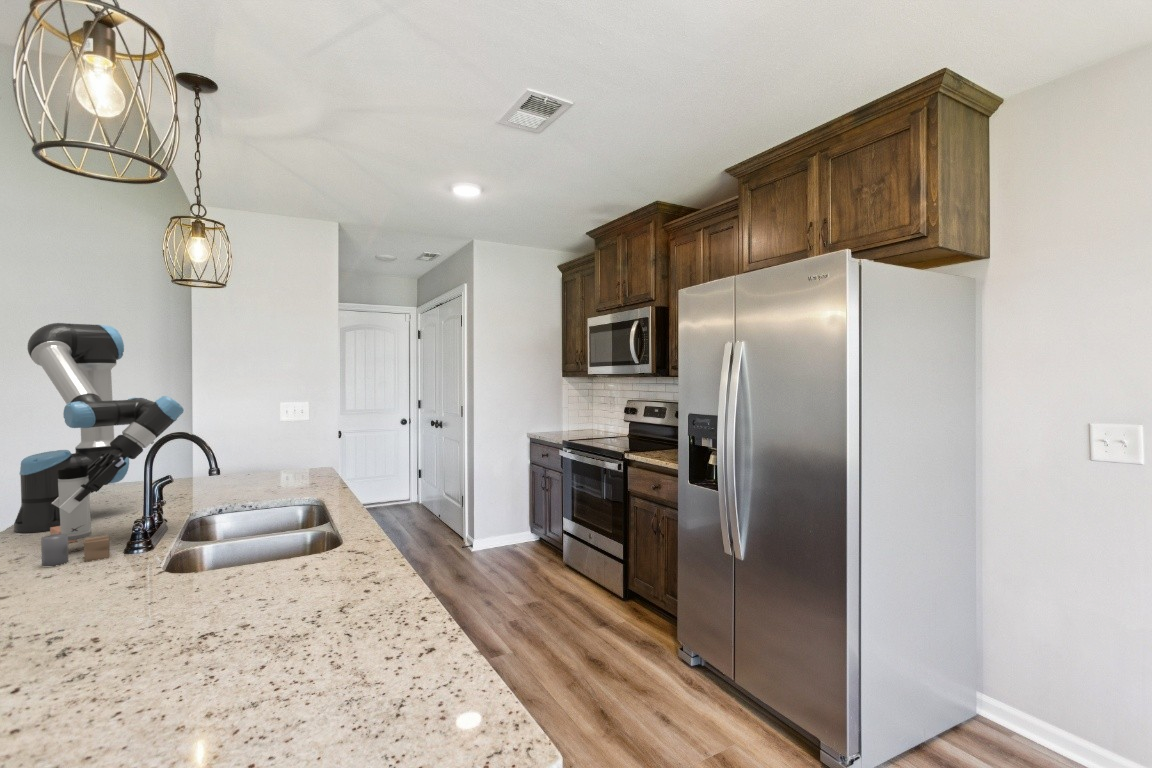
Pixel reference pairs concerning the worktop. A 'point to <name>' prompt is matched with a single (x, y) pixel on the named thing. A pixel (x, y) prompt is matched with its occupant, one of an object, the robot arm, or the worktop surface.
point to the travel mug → (79, 518)
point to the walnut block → (96, 548)
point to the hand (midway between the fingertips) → (60, 508)
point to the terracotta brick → (57, 531)
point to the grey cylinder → (54, 549)
